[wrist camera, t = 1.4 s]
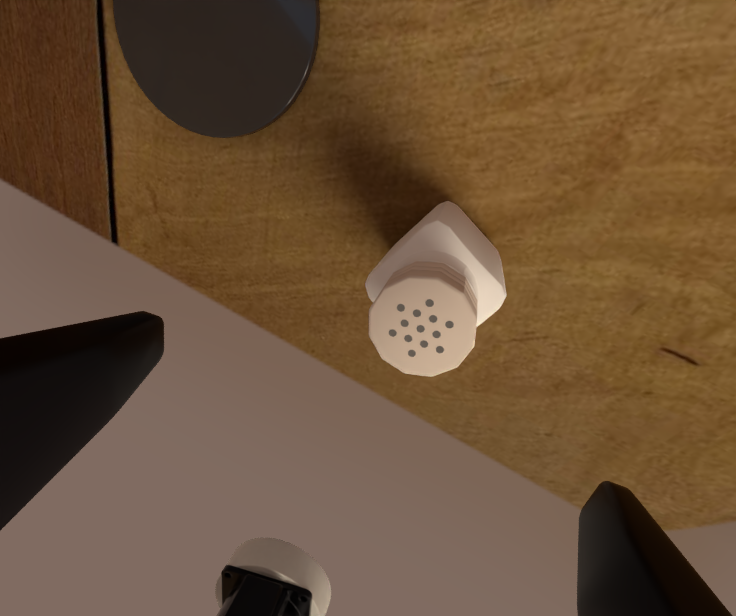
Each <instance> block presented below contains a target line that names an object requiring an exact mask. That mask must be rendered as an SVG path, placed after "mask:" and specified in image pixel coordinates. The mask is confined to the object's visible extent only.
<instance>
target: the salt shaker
mask: <svg viewBox="0 0 736 616" xmlns="http://www.w3.org/2000/svg"><path fill="white" fill-rule="evenodd" d="M365 287H366V290H367V293H368V297H369V298H370V300H371V301H372V302H373V304H372V306H371V307H370V309H369V337H370V339H371V340H372V342H373V344H374V346H375V347H376V349H377V351H378V353H379V354H380V356H381V358H382V359H383V360H385V361H386V362H388V363H389V364H391V365H392V366H394V367H395V368H397V369H399V370H400V371H402V372H403V373H405V374H413V375H421V376H429V377H433V376H435V375H438V374H441V373H443V372H446V371H449V370H451V369H454V368H457V367H458V366H459V365H460V364H461V362H462V361H463V360H464V359H465V357H466V356H467V355H468V354H469V352H470V351H471V350H472V349H473V347H474V345H475V334H476V327H477V326H479V325H480V324H481V323H483V322H484V321H485V320H486V319H487V318H489V317H490V316H491V315H492V314H493V313H495V312H496V311H497V310H498V309H499V308H500V307H501V305H502V303H503V301H504V299H505V298H506V296H507V294H506V288H505V282H504V276H503V269H502V263H501V258H500V255H499V252H498V250H497V249H496V248H495V247H494V246H493V245H492V244H491V242H490V241H489V240H488V239H487V238H486V237H485V236H484V235H483V233H482V232H481V231H480V230H479V229H478V228H477V227H476V226H475V224H474V223H473V222H472V221H471V220H470V219H469V218H468V217H467V215H466V214H465V213H464V212H463V211H462V210H461V209H460V208H459V206H458V205H456V204H454V203H452V202H450V201H446V202H443V203H441V204H438V205H437V206H436V207H435V208H434V209H433V210H432V211H431V212H429V213H428V214H427V215H426V216H425V217H424V218H423V219H422V220H421V221H420V222H419V223H417V224H416V225H415V226H414V227H413V228H412V229H411V230H410V231H409V232H408V233H407V234H405V235H404V236H403V237H402V238H401V239H400V240H399V241H398V242H397V243H396V244H395V245H394V246H393V247H392V248H391V249H390V250H389V252H388V253H387V254H386V255H385V256H384V257H383V259H382V260H381V261H380V262H379V263H378V264H377V266H376V267H375V268H374V269H373V270H372V271H371V273H370V274H369V275H368V278H367V280H366V283H365Z"/></svg>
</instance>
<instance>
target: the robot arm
mask: <svg viewBox="0 0 736 616" xmlns="http://www.w3.org/2000/svg"><path fill="white" fill-rule="evenodd" d="M163 352H164V322H163V320H162V318H160V317H159V316H156V315H154V314H151V313H148V312H145V311H140V312H135V313H129V314H124V315H119V316H114V317H109V318H104V319H99V320H93V321H88V322H83V323H78V324H73V325H67V326H63V327H57V328H52V329H47V330H42V331H36V332H31V333H26V334H21V335H16V336H11V337H5V338H0V530H1V529H2V528H3V527H4V526H5V525H6V524H7V523H8V522H9V521H10V520H11V519H12V518H13V517H14V516H15V515H16V514H17V513H18V512H19V511H20V510H21V509H22V508H23V507H24V506H25V505H26V504H27V503H28V502H29V501H30V500H31V499H32V498H33V497H34V496H35V495H36V494H37V493H38V492H39V491H40V490H41V489H42V488H43V487H44V486H45V485H46V484H47V483H48V482H49V481H50V480H51V479H52V478H53V477H54V476H55V475H56V474H57V473H58V472H59V471H60V470H61V469H62V468H63V467H64V466H65V465H66V464H67V463H68V462H69V461H70V460H71V459H72V458H73V457H74V456H75V455H76V454H77V453H78V452H79V451H80V450H81V449H82V448H83V447H84V446H85V445H86V444H87V443H88V442H89V441H90V440H91V439H92V438H93V437H94V436H95V435H96V434H97V433H98V432H99V431H100V430H101V429H102V428H103V427H104V426H105V425H106V424H107V423H108V422H109V421H110V420H111V419H112V418H113V417H114V415H115V414H116V413H117V412H118V411H119V409H121V407H122V406H123V405H124V404H125V402H126V401H127V400H128V399H129V398H130V396H131V395H132V394H133V393H134V391H135V390H136V389H137V388H138V387H139V385H140V384H141V383H142V382H143V380H144V379H145V378H146V377H147V375H148V374H149V373H150V372H151V370H152V369H153V368H154V367H155V366H156V364H157V363H158V362H159V361H160V359H161V357H162V355H163ZM221 577H222V607H221V609H220V611H219V613H218V614H217V616H311V605H312V593H311V592H310V591H309V590H308V589H306V588H302V587H299V586H296V585H293V584H290V583H286V582H283V581H280V580H277V579H274V578H270V577H267V576H264V575H261V574H258V573H254V572H251V571H248V570H245V569H241V568H238V567H235V566H232V565H226V566H225V567H224V569H223V570H222V573H221ZM577 579H578V580H577V610H578V616H732V615H731V614H730V612H729V611H728V610H727V609H726V608H725V606H724V605H723V604H722V603H721V601H720V600H719V599H718V598H717V596H716V595H715V594H714V593H713V591H712V590H711V589H710V588H709V587H708V585H707V584H706V583H705V582H704V581H703V579H702V578H701V577H700V576H699V574H698V573H697V572H696V571H695V569H694V568H693V567H692V566H691V564H690V563H689V562H688V561H687V559H686V558H685V557H684V556H683V555H682V553H681V552H680V551H679V550H678V548H677V547H676V546H675V545H674V544H673V542H672V541H671V540H670V539H669V537H668V536H667V535H666V534H665V532H664V531H663V530H662V529H661V527H660V526H659V525H658V524H657V522H656V521H655V520H654V519H653V518H652V516H651V515H650V514H649V513H648V511H647V510H646V509H645V508H644V506H643V505H642V504H641V503H640V502H639V500H638V499H637V498H636V497H635V495H634V494H633V493H632V492H631V491H630V490H629V489H628V488H626V487H623V486H621V485H618V484H615V483H612V482H610V481H603V482H602V483H600V485H599V486H598V487H597V488H596V490H595V491H594V493H593V494H592V495H591V497H590V498H589V500H588V501H587V502H586V504H585V505H584V507H583V508H582V510H581V513H580V517H579V541H578V578H577Z"/></svg>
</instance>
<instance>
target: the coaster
mask: <svg viewBox="0 0 736 616" xmlns="http://www.w3.org/2000/svg"><path fill="white" fill-rule="evenodd" d="M113 6H114V17H115V24H116V30H117V34H118V38H119V42H120V45H121V48H122V51H123V54H124V57H125V60H126V62H127V64H128V66H129V69H130V71H131V73H132V75H133V76H134V78H135V80H136V82H137V83H138V85H139V86H140V88H141V89H142V91H143V92H144V93H145V95H146V96H147V97H148V99H149V100H150V101H151V102H152V103H153V104H154V105H155V106H156V107H157V108H158V109H159V110H160V111H161V112H162V113H163V114H164V115H165V116H167V117H168V118H169V119H171V120H172V121H174V122H175V123H176V124H178V125H180V126H182V127H184V128H186V129H187V130H189V131H192V132H195V133H198V134H201V135H205V136H210V137H220V138H233V137H242V136H245V135H249V134H253V133H255V132H257V131H260V130H262V129H264V128H266V127H267V126H269V125H270V124H272V123H273V122H275V121H276V120H277V119H278V118H280V117H281V116H282V115H283V114H284V113H285V112H286V111H287V110H288V109H289V108H290V106H291V105H292V104H293V103H294V102H295V100H296V99H297V97H298V96H299V94H300V92H301V91H302V89H303V87H304V85H305V83H306V81H307V79H308V77H309V74H310V71H311V69H312V66H313V63H314V59H315V55H316V50H317V46H318V38H319V29H320V10H319V0H113Z"/></svg>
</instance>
